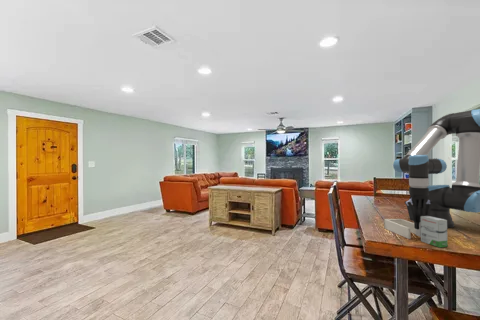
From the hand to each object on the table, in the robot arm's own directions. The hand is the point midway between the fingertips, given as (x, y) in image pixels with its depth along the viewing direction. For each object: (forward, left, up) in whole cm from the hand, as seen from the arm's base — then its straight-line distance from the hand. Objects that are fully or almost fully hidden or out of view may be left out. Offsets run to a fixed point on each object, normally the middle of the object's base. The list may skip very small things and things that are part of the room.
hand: (419, 235), depth 111 cm
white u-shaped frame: (0, -9, -1) cm, 9 cm away
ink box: (-1, +7, -2) cm, 7 cm away
